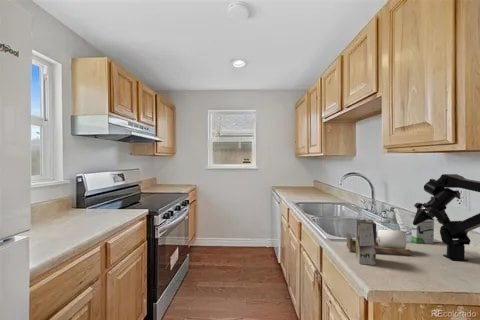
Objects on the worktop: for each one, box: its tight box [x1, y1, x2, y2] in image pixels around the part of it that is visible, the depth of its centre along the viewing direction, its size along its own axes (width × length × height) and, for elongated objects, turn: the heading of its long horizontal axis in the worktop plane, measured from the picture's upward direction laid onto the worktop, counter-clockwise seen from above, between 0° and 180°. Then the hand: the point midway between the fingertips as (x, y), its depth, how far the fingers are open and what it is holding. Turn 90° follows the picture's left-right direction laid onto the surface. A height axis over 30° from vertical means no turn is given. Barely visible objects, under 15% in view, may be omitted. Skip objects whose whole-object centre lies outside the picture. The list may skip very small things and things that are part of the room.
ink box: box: [411, 217, 435, 245], centre depth 153 cm, size 9×5×12 cm, turn 88°
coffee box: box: [355, 219, 377, 266], centre depth 125 cm, size 9×6×16 cm
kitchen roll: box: [376, 229, 407, 249], centre depth 138 cm, size 10×8×8 cm
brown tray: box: [346, 232, 411, 257], centre depth 139 cm, size 24×11×6 cm, turn 78°
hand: (413, 224), depth 136 cm, fingers closed
